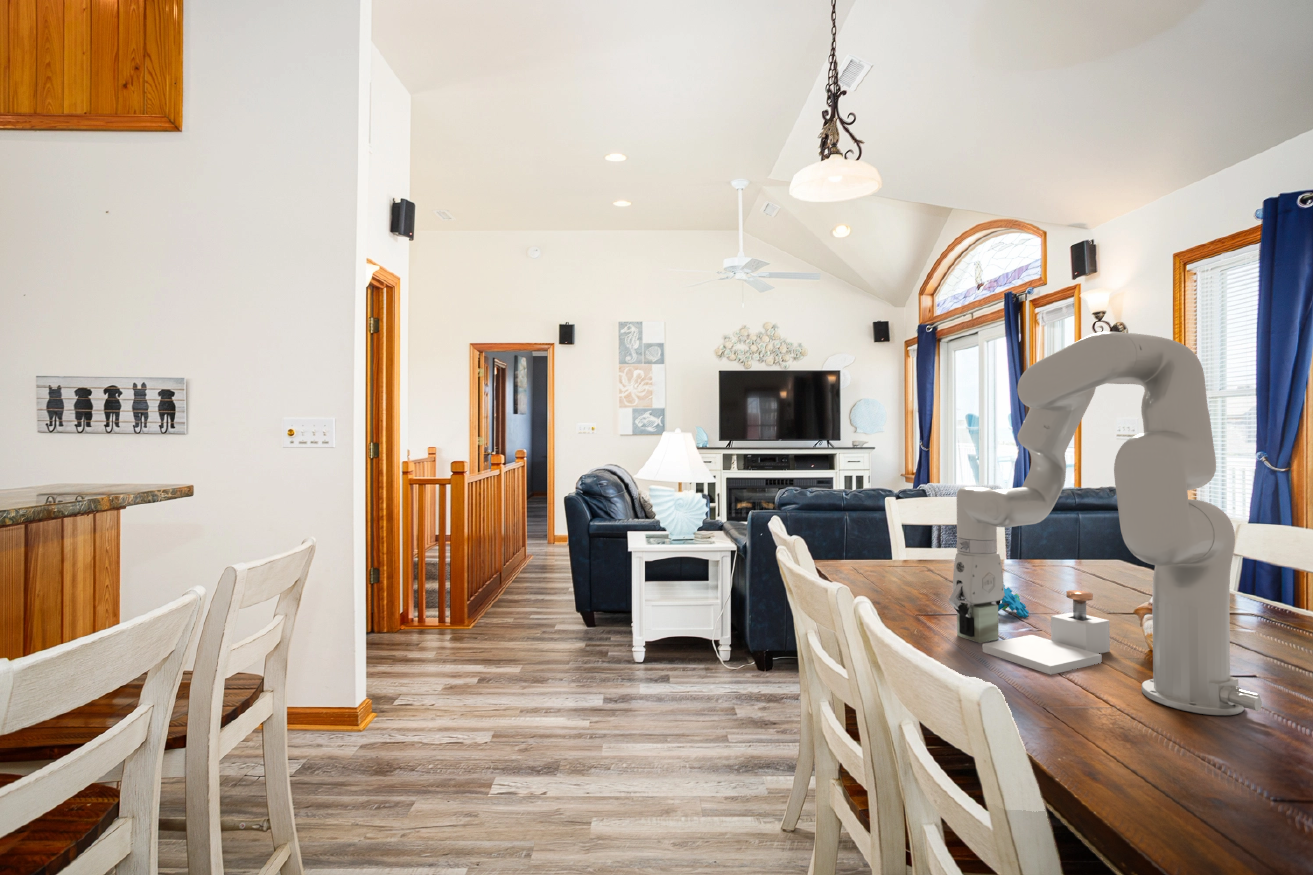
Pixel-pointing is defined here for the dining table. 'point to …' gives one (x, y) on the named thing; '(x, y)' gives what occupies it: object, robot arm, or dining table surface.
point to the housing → (983, 622)
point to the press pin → (1079, 603)
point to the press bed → (1058, 645)
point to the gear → (1013, 603)
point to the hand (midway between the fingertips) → (977, 632)
